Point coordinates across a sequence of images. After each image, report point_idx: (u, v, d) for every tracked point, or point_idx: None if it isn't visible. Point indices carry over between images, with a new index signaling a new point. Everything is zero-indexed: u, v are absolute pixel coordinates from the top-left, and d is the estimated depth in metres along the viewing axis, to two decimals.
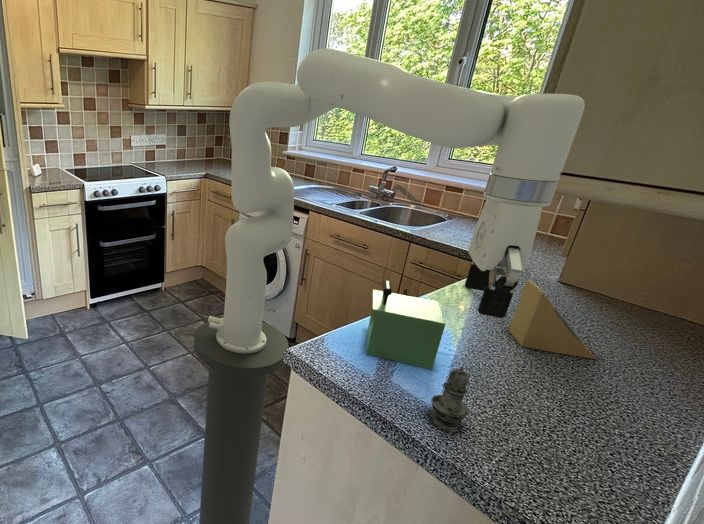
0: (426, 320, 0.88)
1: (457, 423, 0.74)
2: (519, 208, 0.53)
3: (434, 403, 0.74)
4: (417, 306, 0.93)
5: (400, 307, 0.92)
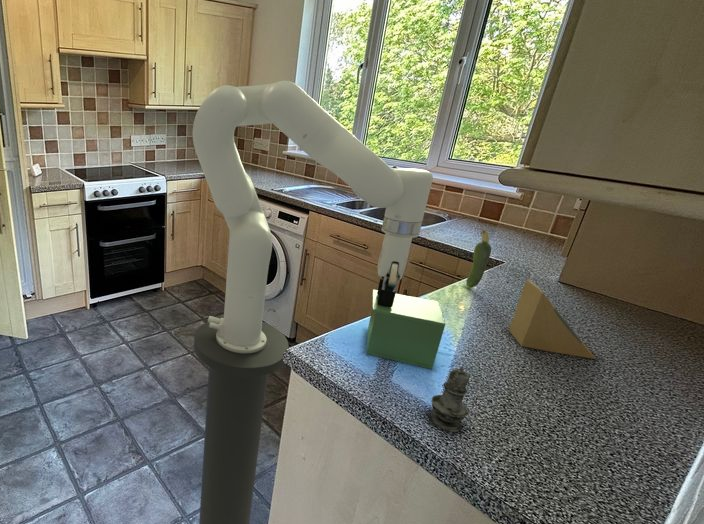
0: (426, 320, 0.88)
1: (457, 423, 0.74)
2: (397, 238, 0.86)
3: (434, 403, 0.74)
4: (417, 306, 0.93)
5: (400, 307, 0.92)
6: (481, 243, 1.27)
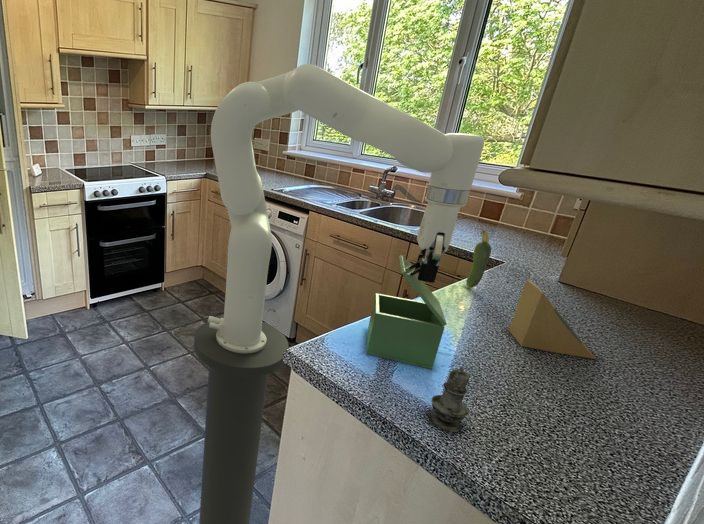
0: (435, 311, 0.86)
1: (457, 423, 0.74)
2: (444, 208, 0.81)
3: (434, 403, 0.74)
4: (429, 294, 0.92)
5: (420, 286, 0.89)
6: (481, 243, 1.27)
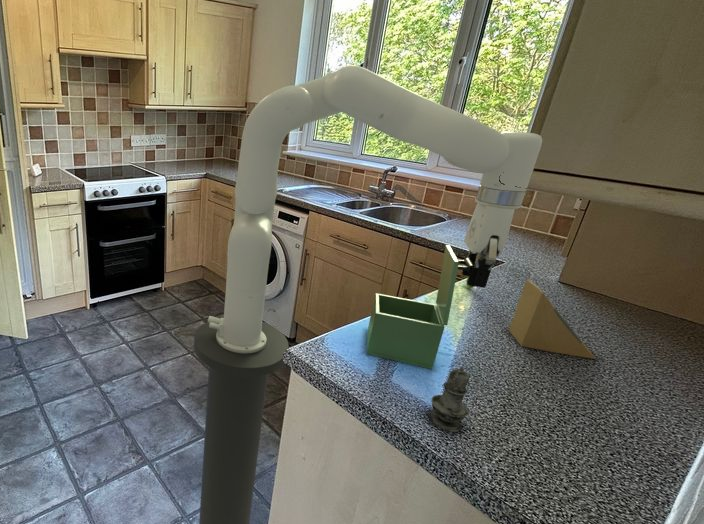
0: (449, 310, 0.85)
1: (457, 423, 0.74)
2: (498, 210, 0.77)
3: (434, 403, 0.74)
4: None
5: None
6: None
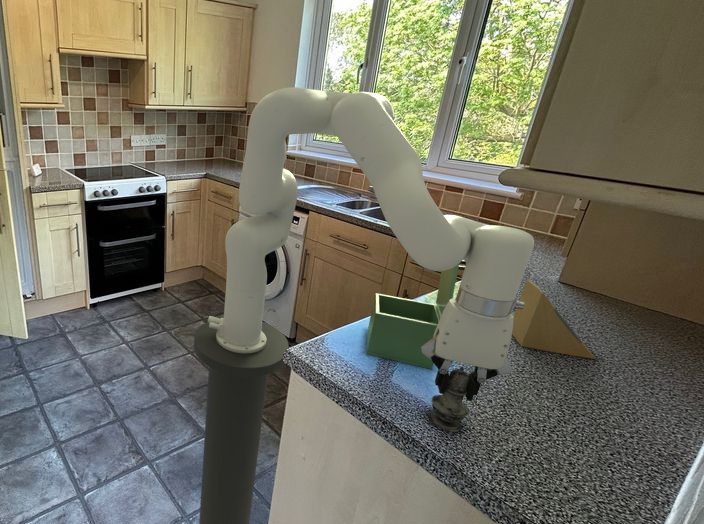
0: None
1: (457, 423, 0.74)
2: (448, 303, 0.69)
3: (434, 403, 0.74)
4: None
5: None
6: None
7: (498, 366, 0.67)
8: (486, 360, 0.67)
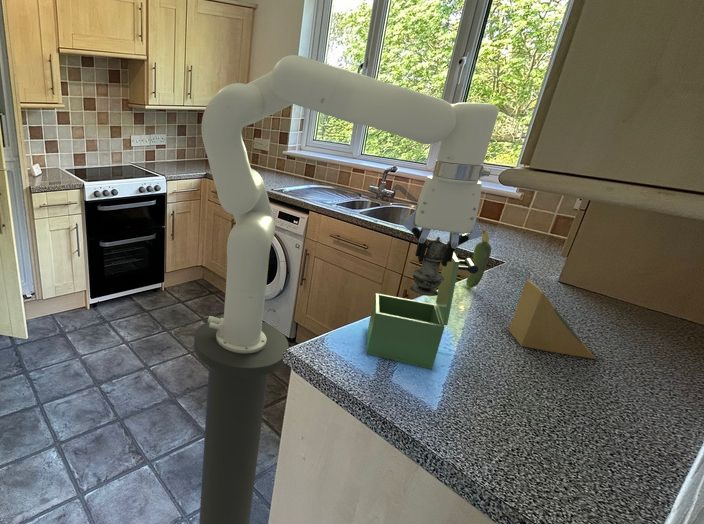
0: (449, 310, 0.85)
1: (434, 291, 0.84)
2: (427, 178, 0.80)
3: (414, 273, 0.85)
4: None
5: None
6: (481, 243, 1.27)
7: (468, 229, 0.77)
8: (458, 224, 0.77)
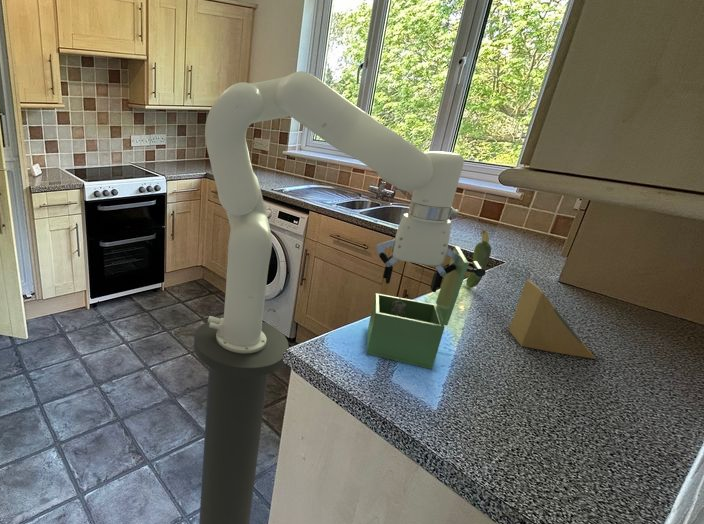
0: (451, 310, 0.85)
1: None
2: (403, 216, 0.89)
3: None
4: None
5: None
6: (481, 243, 1.27)
7: (440, 262, 0.86)
8: (431, 258, 0.87)
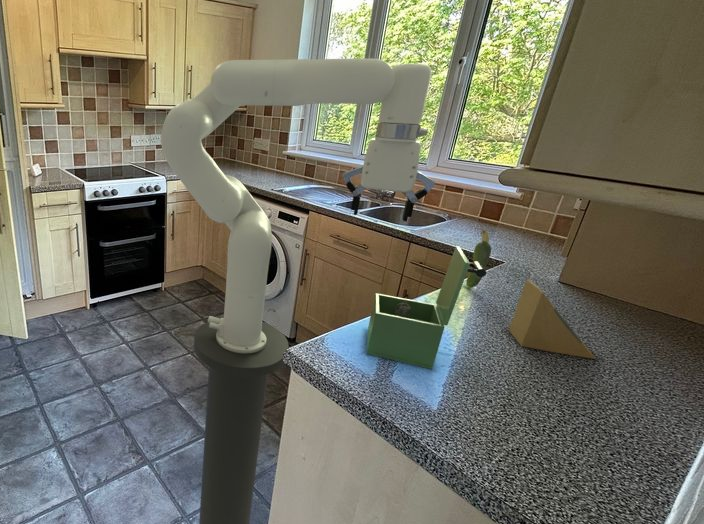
0: (451, 310, 0.85)
1: None
2: None
3: None
4: None
5: None
6: (481, 243, 1.27)
7: (409, 187, 0.81)
8: (399, 183, 0.81)
